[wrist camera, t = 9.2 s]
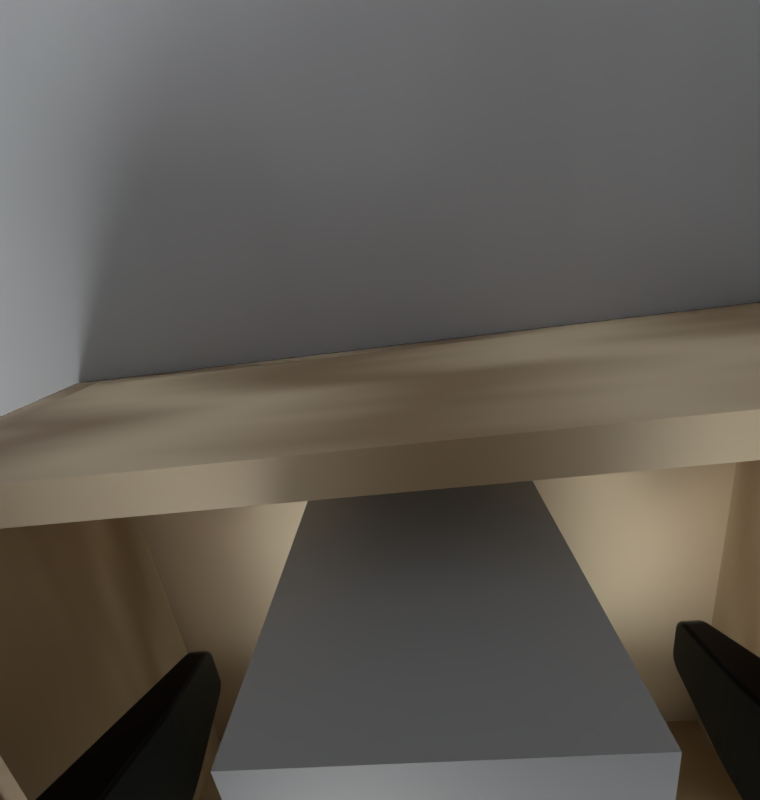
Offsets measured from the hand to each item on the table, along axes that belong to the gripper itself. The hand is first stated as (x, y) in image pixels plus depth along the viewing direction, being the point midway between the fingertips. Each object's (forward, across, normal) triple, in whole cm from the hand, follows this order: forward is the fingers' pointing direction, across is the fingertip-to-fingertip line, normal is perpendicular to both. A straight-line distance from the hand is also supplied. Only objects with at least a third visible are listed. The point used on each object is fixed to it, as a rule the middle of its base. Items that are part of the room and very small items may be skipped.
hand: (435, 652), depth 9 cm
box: (+3, 0, +1) cm, 3 cm away
